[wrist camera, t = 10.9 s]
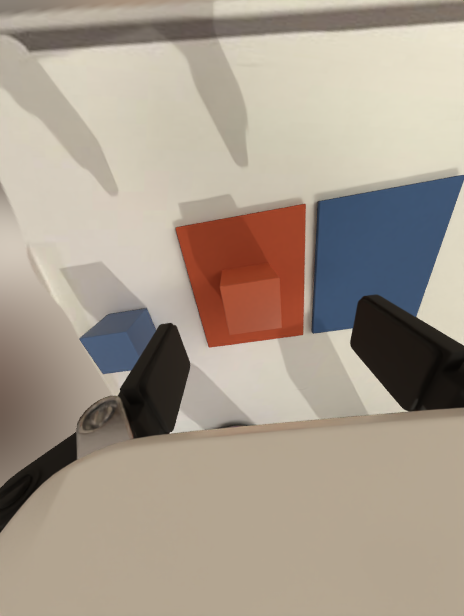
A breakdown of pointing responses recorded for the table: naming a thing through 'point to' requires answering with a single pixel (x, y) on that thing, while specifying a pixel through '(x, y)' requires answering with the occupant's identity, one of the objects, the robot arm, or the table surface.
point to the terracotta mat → (246, 252)
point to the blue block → (119, 340)
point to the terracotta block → (251, 298)
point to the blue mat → (378, 248)
